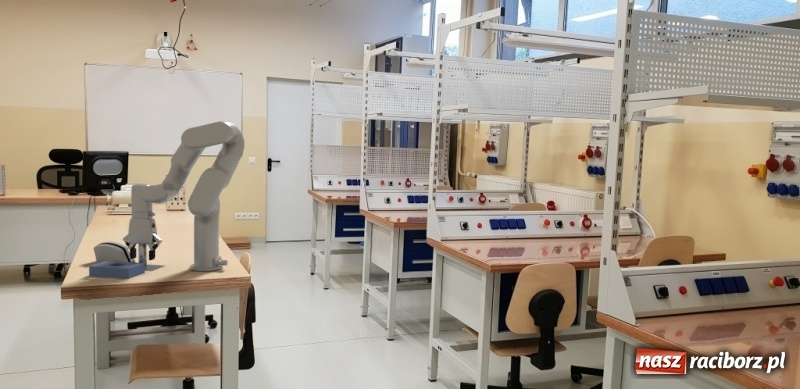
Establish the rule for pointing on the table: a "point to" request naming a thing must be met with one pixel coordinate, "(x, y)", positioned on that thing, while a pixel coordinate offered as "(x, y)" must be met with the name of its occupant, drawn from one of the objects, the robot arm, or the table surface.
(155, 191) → the robot arm
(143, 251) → the peg
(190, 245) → the table surface
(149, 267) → the mat
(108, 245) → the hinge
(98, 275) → the hole block
